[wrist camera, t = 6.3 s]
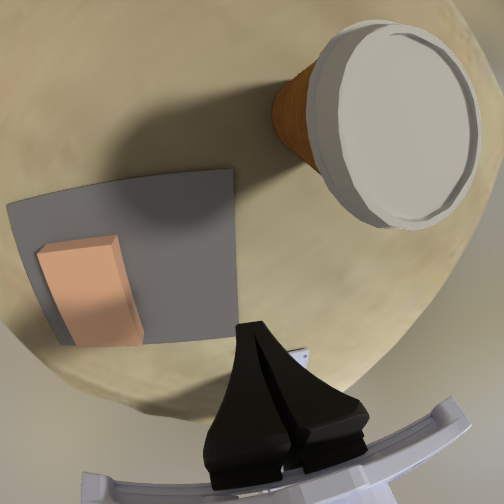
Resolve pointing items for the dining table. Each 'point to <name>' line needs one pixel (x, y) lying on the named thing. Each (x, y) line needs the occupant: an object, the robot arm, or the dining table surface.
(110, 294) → the terracotta tile
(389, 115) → the disposable coffee cup
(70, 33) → the dining table surface
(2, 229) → the dining table surface
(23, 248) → the rubber mat
